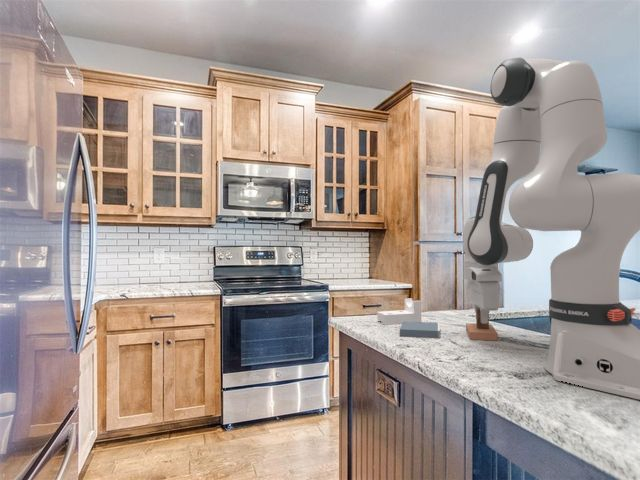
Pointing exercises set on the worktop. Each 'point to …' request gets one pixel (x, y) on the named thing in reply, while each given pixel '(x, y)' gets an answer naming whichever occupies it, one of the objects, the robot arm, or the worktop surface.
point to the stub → (481, 330)
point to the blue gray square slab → (420, 329)
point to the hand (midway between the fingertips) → (481, 321)
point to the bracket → (402, 313)
